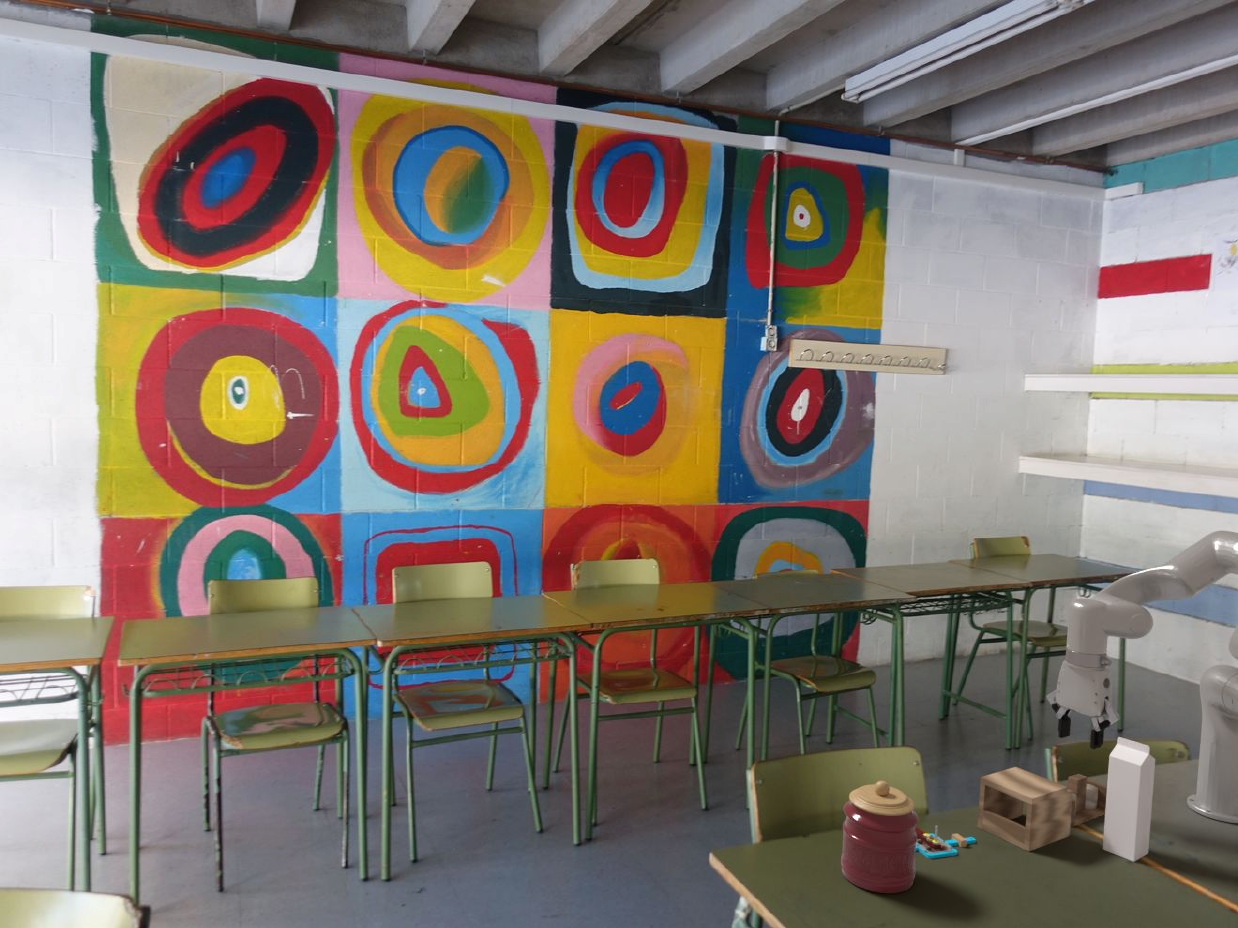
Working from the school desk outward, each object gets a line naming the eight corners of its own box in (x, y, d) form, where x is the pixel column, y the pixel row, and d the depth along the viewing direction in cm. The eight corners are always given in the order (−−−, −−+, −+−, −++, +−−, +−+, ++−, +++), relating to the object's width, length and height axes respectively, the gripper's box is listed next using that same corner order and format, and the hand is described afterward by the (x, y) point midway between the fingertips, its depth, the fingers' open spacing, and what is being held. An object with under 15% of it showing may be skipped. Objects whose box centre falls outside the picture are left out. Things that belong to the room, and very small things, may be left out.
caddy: (1079, 800, 205) (1081, 765, 205) (1110, 813, 199) (1112, 776, 199) (1040, 813, 198) (1042, 776, 197) (1071, 827, 192) (1073, 789, 191)
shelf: (1018, 813, 197) (1021, 764, 197) (1069, 835, 188) (1073, 784, 187) (977, 827, 190) (980, 776, 189) (1028, 851, 180) (1032, 798, 180)
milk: (1133, 862, 178) (1142, 749, 176) (1101, 849, 183) (1109, 739, 181) (1148, 853, 181) (1157, 743, 180) (1116, 840, 186) (1124, 733, 184)
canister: (825, 865, 172) (830, 772, 171) (882, 853, 178) (887, 763, 176) (871, 900, 161) (876, 801, 159) (930, 887, 166) (936, 790, 164)
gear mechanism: (870, 842, 183) (898, 865, 174) (871, 815, 183) (900, 837, 174) (955, 831, 189) (987, 853, 180) (957, 805, 189) (989, 826, 180)
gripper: (1136, 667, 191) (1130, 752, 192) (1057, 646, 205) (1052, 726, 207) (1116, 671, 187) (1109, 759, 188) (1037, 650, 201) (1031, 731, 203)
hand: (1079, 741), depth 197 cm, fingers open, 6 cm apart
